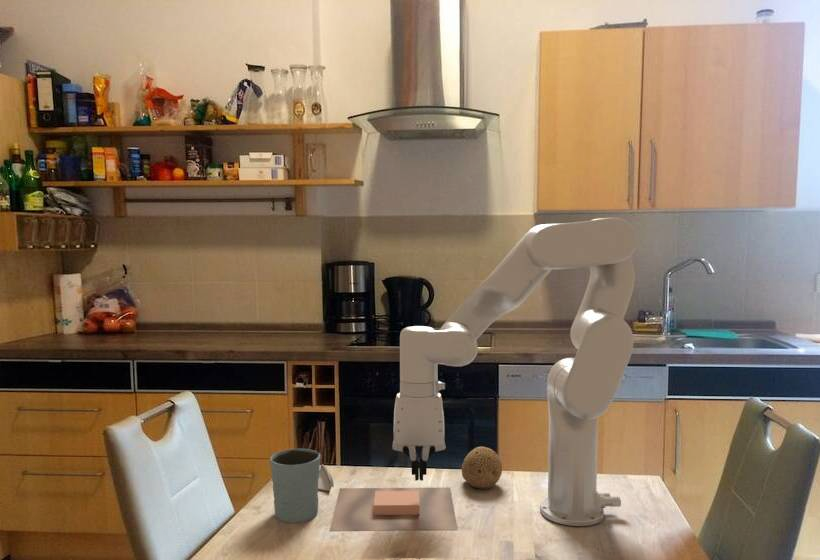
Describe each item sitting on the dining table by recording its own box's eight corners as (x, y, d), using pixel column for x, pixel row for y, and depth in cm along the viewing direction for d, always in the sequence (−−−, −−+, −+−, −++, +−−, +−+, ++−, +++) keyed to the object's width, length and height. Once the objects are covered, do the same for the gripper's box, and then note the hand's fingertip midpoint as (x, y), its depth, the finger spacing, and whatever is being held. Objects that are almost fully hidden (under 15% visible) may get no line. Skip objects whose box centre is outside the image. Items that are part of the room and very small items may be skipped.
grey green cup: (278, 528, 124) (277, 468, 123) (265, 509, 133) (264, 452, 132) (328, 518, 128) (327, 459, 127) (312, 499, 137) (311, 444, 136)
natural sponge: (502, 501, 136) (502, 455, 135) (460, 499, 137) (460, 454, 136) (501, 484, 145) (501, 441, 144) (461, 483, 146) (462, 440, 145)
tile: (418, 490, 133) (375, 491, 133) (419, 505, 126) (373, 505, 126) (418, 500, 133) (375, 500, 133) (419, 514, 126) (373, 515, 126)
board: (450, 494, 140) (450, 487, 140) (457, 537, 120) (457, 529, 120) (340, 494, 139) (339, 488, 139) (329, 538, 119) (329, 530, 119)
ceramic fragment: (337, 496, 140) (337, 478, 140) (314, 499, 138) (313, 482, 138) (325, 474, 153) (325, 458, 153) (303, 477, 151) (303, 461, 151)
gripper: (454, 383, 132) (454, 470, 133) (382, 384, 131) (382, 471, 133) (457, 393, 124) (457, 485, 125) (380, 393, 124) (381, 485, 125)
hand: (419, 477), depth 129 cm, fingers closed
